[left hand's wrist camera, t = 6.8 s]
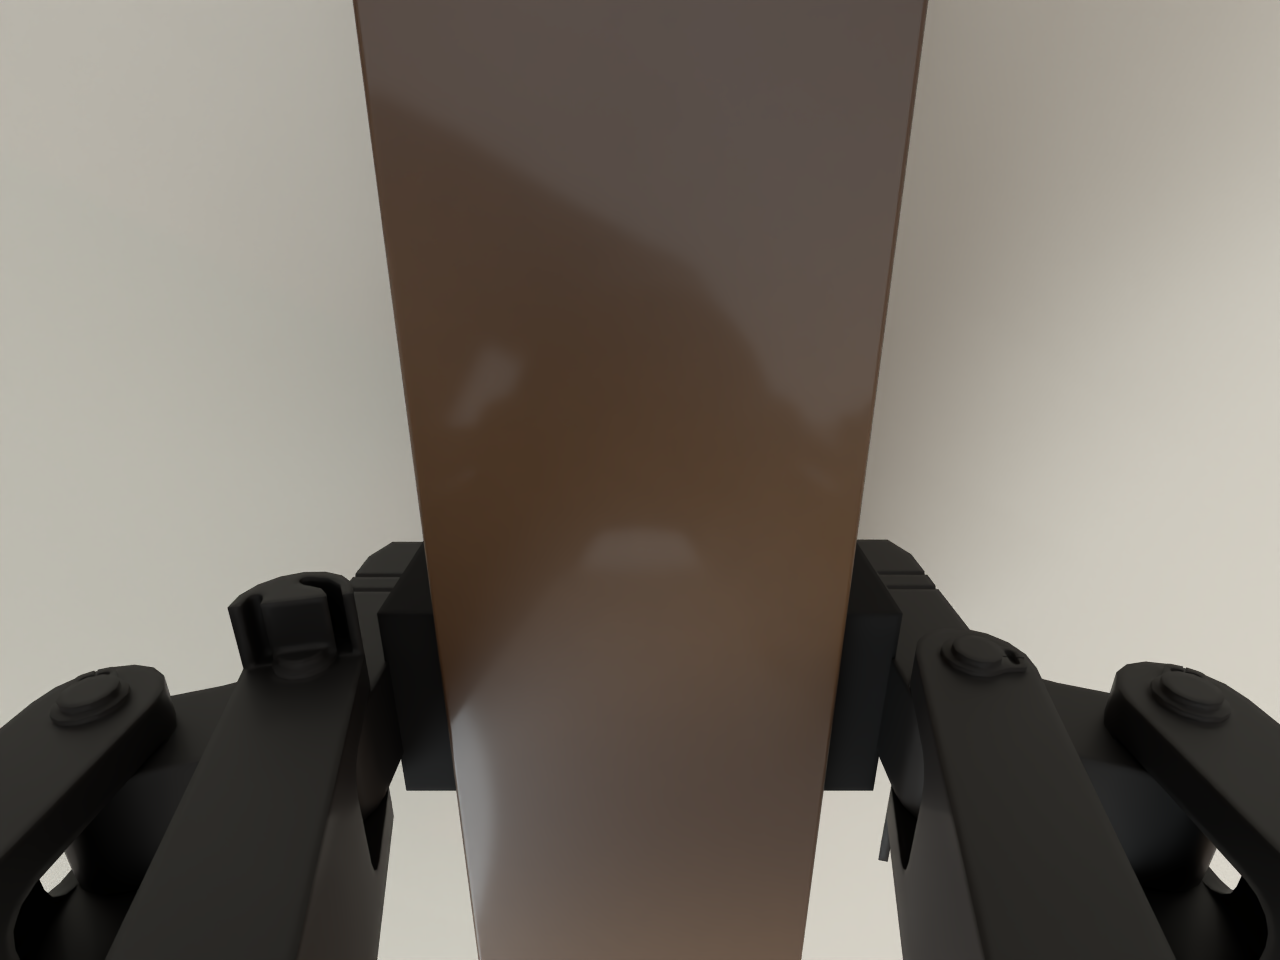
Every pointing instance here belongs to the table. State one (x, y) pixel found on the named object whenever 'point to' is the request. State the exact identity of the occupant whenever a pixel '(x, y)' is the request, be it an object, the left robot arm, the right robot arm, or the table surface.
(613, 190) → the beam
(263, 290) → the table surface
